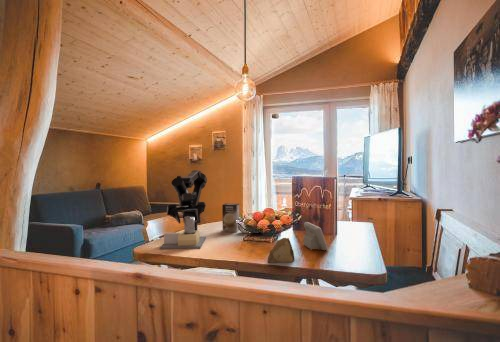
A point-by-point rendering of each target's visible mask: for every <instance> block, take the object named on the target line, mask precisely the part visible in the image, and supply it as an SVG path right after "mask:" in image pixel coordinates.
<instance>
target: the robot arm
mask: <svg viewBox="0 0 500 342" xmlns="http://www.w3.org/2000/svg"><path fill="white" fill-rule="evenodd" d="M207 182H208V178H207V175H206V174H204V173H203V172H201V170H199V169H197V170H195V169H194V170H191V172H190V173H189V174H188V175H185V176H181V175H177V176H176V177H175V178H173V180H171V185H172V187H173V189H174V191H175V192H176V193H177V198H178V206H177V204H176V203H169V204H168V205H167V207H166V215H167V216H170V217H173V218H174V220H176V221H177V222H178V224H181V217H180V214H179V211H183V213H182V220H183V222H184V217H187V216H193V217H195V231H198V224H201V222H202V220H201V214H202V213H203V212H205V210H206V209H205V208H206V203H205V201H200V198H201V194H202V190H203V189H204V188H205V187H206V185H207ZM191 188H193V190H192V192H189V189H191Z"/></svg>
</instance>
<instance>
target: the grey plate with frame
mask: <svg viewBox="0 0 500 342" xmlns="http://www.w3.org/2000/svg"><path fill="white" fill-rule="evenodd" d="M200 233H201V232H200V230H197V231H195V234H184V230H181V231H180V232H164V234H163V235H164V236H163V238H164V242H163V244H162V245H160V246H159V250H187V249H188V250H191V249H194V250H195V249H196V250H198V249H201V248H202V246H203V244H204V243H205V241H206V239H207V236H206V235H205V236H201V234H200Z"/></svg>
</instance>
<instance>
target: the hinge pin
mask: <svg viewBox="0 0 500 342" xmlns="http://www.w3.org/2000/svg"><path fill="white" fill-rule="evenodd" d="M183 226H184V227H183V231H184V234H195V217H193V216H187V217H184V221H183Z"/></svg>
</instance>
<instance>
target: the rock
mask: <svg viewBox="0 0 500 342" xmlns="http://www.w3.org/2000/svg"><path fill="white" fill-rule="evenodd" d="M295 260H296V259H295V254H294V249H293V246H292V243H291V241H290V238H289V237H283V238H280V239H279V240H276V243H275V244H274V246H273V248H272V249H270V251H269V254H268V257H267V262H268V263H291V262H292V263H293V262H294V261H295Z"/></svg>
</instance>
